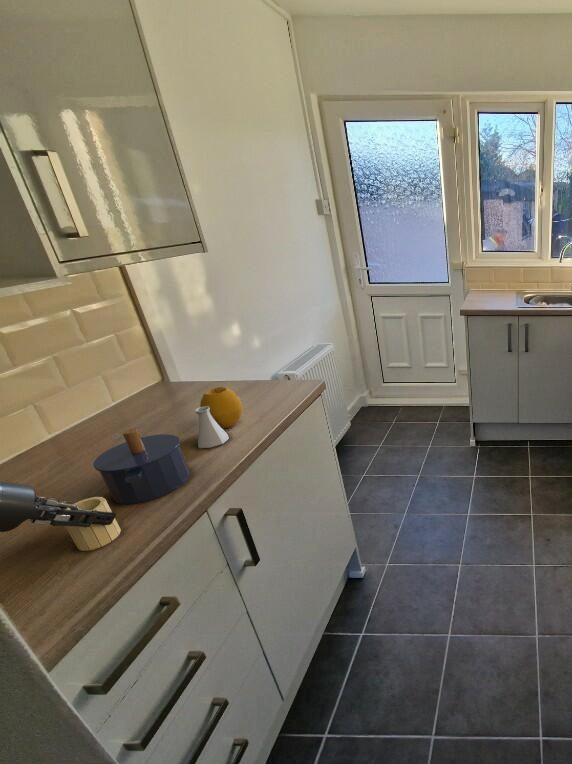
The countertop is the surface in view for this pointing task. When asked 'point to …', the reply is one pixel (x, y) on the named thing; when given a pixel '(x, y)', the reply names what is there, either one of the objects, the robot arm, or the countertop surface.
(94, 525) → the pale yellow hollow cylinder
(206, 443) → the flask
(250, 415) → the countertop surface
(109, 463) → the pot lid
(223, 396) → the round orange vase
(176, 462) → the pot
